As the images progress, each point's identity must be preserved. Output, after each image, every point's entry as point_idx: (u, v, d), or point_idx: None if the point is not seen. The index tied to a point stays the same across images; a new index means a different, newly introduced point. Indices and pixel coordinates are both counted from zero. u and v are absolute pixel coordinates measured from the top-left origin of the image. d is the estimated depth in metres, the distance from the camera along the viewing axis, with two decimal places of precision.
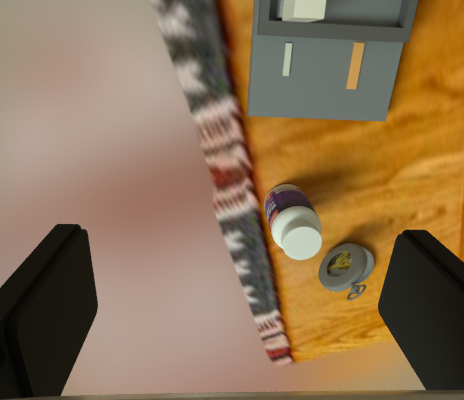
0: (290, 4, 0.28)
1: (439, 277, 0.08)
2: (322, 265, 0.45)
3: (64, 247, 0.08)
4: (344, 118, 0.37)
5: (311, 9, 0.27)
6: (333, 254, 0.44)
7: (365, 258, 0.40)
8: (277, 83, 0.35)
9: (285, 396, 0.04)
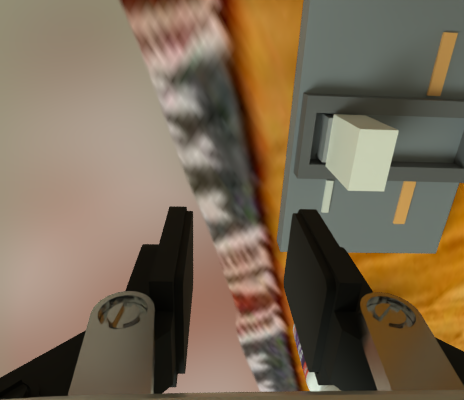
0: (341, 167, 0.23)
1: (308, 247, 0.09)
2: None
3: (185, 225, 0.10)
4: (389, 251, 0.32)
5: (370, 182, 0.22)
6: None
7: None
8: None
9: (285, 396, 0.04)
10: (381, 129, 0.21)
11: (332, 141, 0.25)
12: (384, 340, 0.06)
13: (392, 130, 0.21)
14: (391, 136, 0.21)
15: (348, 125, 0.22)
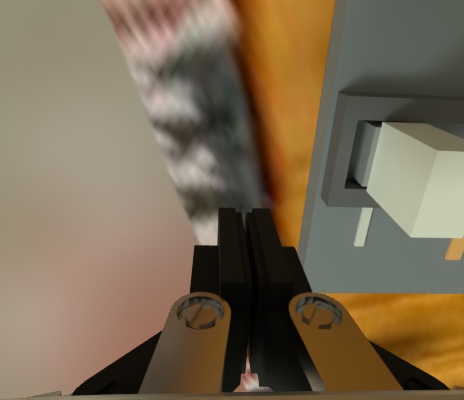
0: (397, 199, 0.16)
1: (251, 247, 0.09)
2: None
3: (239, 226, 0.10)
4: (437, 292, 0.26)
5: (443, 226, 0.15)
6: None
7: None
8: (345, 254, 0.24)
9: (285, 396, 0.04)
10: None
11: (380, 159, 0.18)
12: (317, 345, 0.06)
13: None
14: None
15: (412, 141, 0.15)
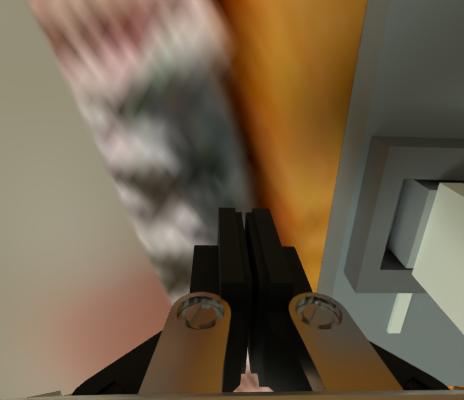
0: None
1: (251, 247, 0.09)
2: None
3: (239, 226, 0.10)
4: None
5: None
6: None
7: None
8: (375, 341, 0.18)
9: (285, 396, 0.04)
10: None
11: (438, 237, 0.12)
12: (317, 345, 0.06)
13: None
14: None
15: None
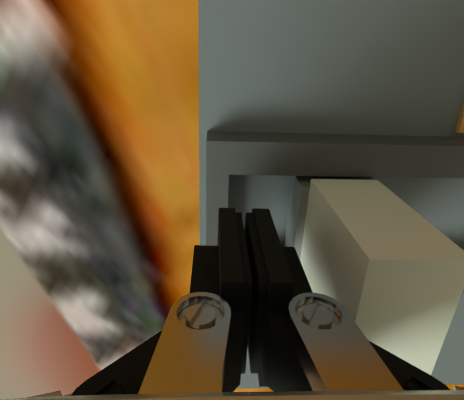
0: None
1: (251, 247, 0.09)
2: None
3: (239, 226, 0.10)
4: None
5: None
6: None
7: None
8: None
9: (285, 396, 0.04)
10: (427, 256, 0.08)
11: (310, 235, 0.12)
12: (317, 345, 0.06)
13: (457, 259, 0.08)
14: (453, 273, 0.08)
15: (339, 225, 0.09)
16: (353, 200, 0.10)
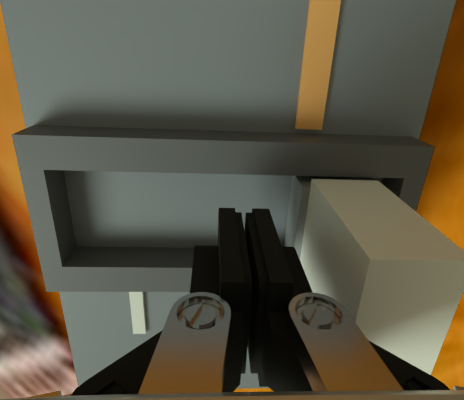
0: None
1: (251, 247, 0.09)
2: None
3: (239, 226, 0.10)
4: None
5: None
6: None
7: None
8: (126, 342, 0.17)
9: (285, 396, 0.04)
10: (427, 256, 0.08)
11: (310, 235, 0.12)
12: (317, 345, 0.06)
13: (457, 260, 0.08)
14: (454, 274, 0.08)
15: (340, 225, 0.09)
16: (354, 200, 0.10)
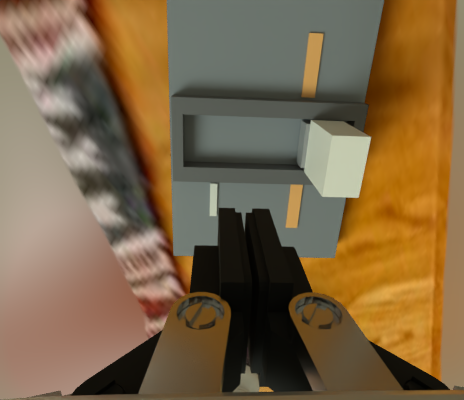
0: (317, 173, 0.23)
1: (251, 247, 0.09)
2: None
3: (239, 226, 0.10)
4: None
5: (344, 188, 0.22)
6: None
7: None
8: (204, 222, 0.30)
9: (285, 396, 0.04)
10: (354, 135, 0.21)
11: (310, 147, 0.25)
12: (317, 346, 0.06)
13: (364, 136, 0.21)
14: (364, 142, 0.21)
15: (322, 131, 0.22)
16: (329, 125, 0.24)
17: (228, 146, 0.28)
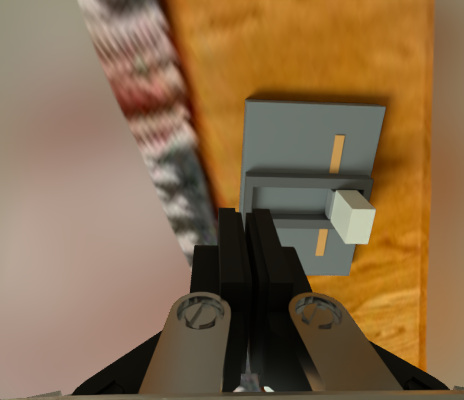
0: (341, 227, 0.37)
1: (251, 247, 0.09)
2: None
3: (239, 226, 0.10)
4: (315, 274, 0.45)
5: (358, 238, 0.36)
6: None
7: None
8: None
9: (285, 396, 0.04)
10: (365, 208, 0.34)
11: (335, 207, 0.39)
12: (317, 345, 0.06)
13: (372, 209, 0.34)
14: (371, 212, 0.34)
15: (345, 202, 0.36)
16: (349, 196, 0.37)
17: (279, 203, 0.41)
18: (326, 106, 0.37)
